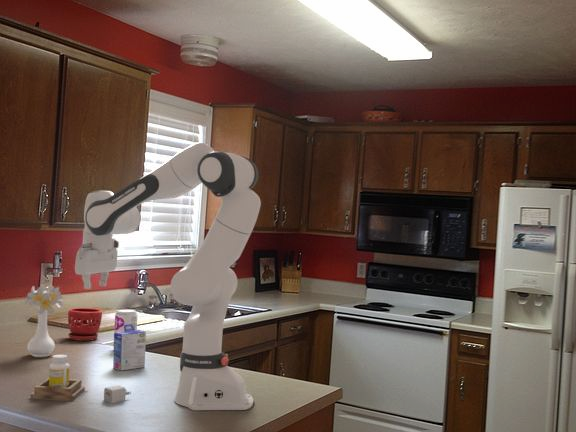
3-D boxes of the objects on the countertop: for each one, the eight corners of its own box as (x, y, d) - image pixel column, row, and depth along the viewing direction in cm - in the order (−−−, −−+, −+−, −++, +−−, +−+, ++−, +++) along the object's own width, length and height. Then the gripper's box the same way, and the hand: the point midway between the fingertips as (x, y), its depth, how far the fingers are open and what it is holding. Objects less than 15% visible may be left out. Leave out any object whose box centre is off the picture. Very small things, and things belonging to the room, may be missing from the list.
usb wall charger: (103, 401, 192) (104, 387, 192) (124, 397, 197) (124, 383, 197) (112, 404, 190) (112, 390, 189) (132, 400, 195) (133, 386, 195)
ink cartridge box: (136, 364, 239) (138, 322, 239) (145, 367, 235) (147, 325, 235) (111, 368, 231) (113, 325, 231) (120, 371, 228) (122, 327, 228)
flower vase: (30, 362, 233) (33, 289, 233) (16, 352, 248) (20, 283, 248) (68, 359, 240) (72, 288, 240) (53, 349, 255) (56, 282, 255)
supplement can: (119, 353, 255) (121, 312, 255) (109, 349, 261) (111, 309, 261) (139, 351, 260) (141, 311, 260) (129, 347, 267) (130, 308, 266)
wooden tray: (84, 391, 200) (85, 380, 200) (73, 400, 190) (74, 388, 190) (43, 388, 200) (44, 377, 200) (30, 398, 190) (30, 386, 190)
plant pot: (95, 342, 272) (96, 312, 272) (62, 341, 272) (63, 310, 272) (104, 336, 285) (106, 308, 285) (73, 335, 285) (74, 306, 285)
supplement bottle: (61, 386, 199) (63, 353, 199) (72, 390, 196) (74, 356, 195) (44, 390, 195) (46, 355, 195) (55, 393, 191) (57, 358, 191)
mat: (88, 392, 201) (88, 390, 201) (76, 402, 190) (76, 401, 190) (40, 389, 201) (40, 388, 201) (25, 399, 190) (26, 398, 190)
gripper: (90, 244, 202) (87, 291, 202) (121, 242, 222) (119, 285, 222) (70, 243, 203) (68, 290, 204) (103, 241, 223) (101, 283, 223)
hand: (95, 287), depth 213 cm, fingers open, 8 cm apart
